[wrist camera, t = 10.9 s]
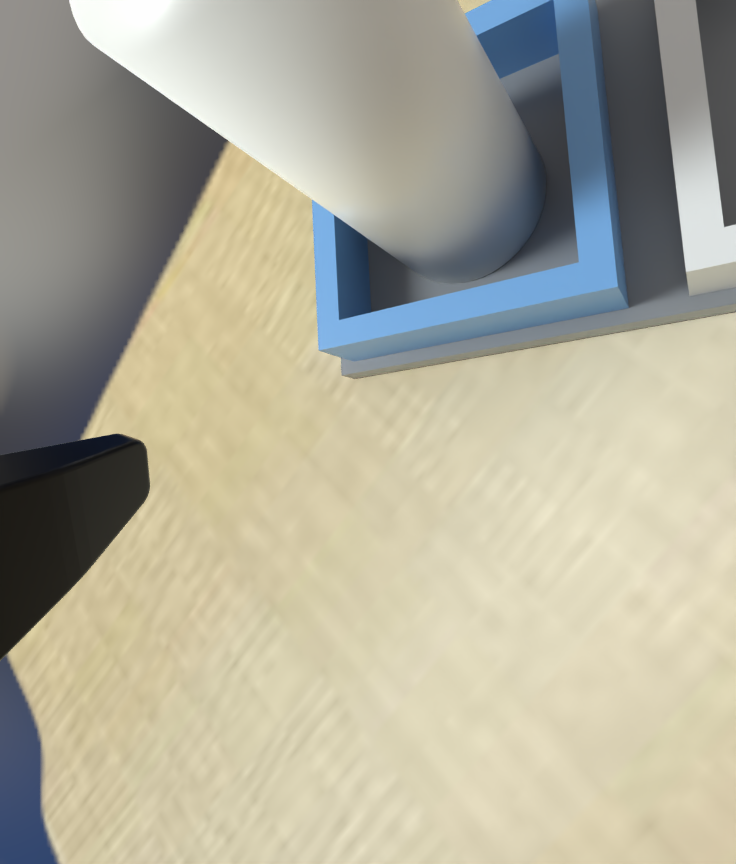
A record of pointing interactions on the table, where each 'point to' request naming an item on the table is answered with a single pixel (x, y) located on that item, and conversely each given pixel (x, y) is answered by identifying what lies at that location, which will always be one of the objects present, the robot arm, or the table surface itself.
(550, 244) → the blue and white tray
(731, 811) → the table surface
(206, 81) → the white bottle
